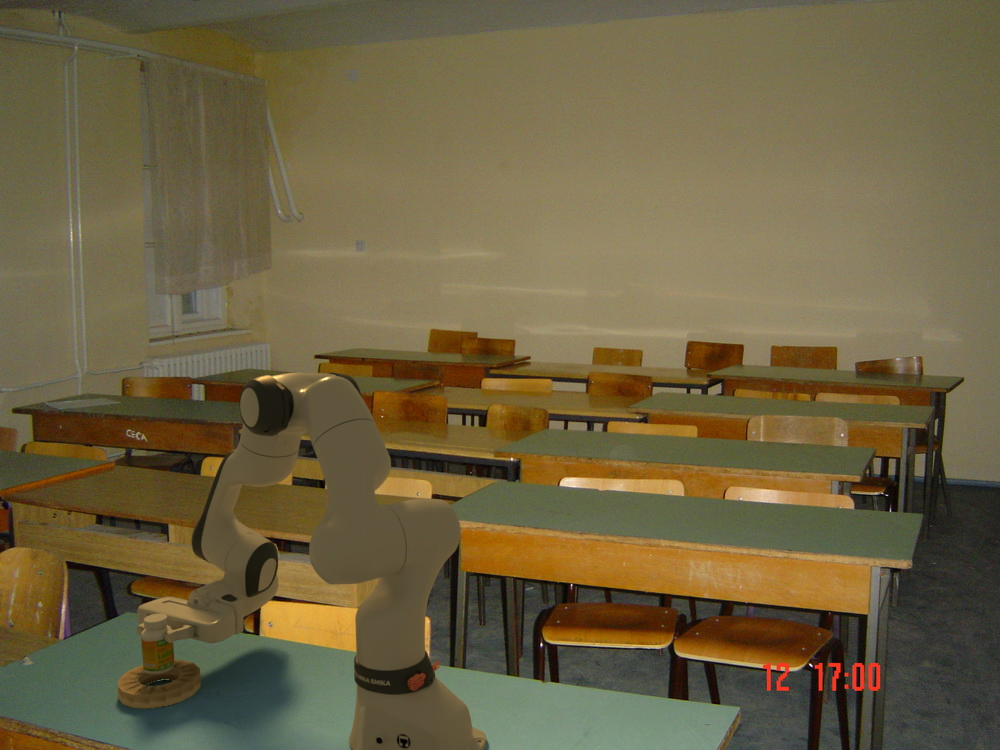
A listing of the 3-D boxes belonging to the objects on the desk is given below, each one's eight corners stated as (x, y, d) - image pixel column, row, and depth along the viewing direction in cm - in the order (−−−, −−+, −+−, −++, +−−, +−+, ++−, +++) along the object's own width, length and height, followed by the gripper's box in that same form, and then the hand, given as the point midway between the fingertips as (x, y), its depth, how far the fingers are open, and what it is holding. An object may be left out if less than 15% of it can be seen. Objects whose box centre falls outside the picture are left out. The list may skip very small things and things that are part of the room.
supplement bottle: (160, 677, 166) (156, 625, 164) (136, 672, 168) (132, 621, 167) (181, 664, 171) (177, 614, 169) (158, 659, 173) (154, 610, 171)
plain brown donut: (216, 681, 173) (216, 669, 172) (157, 715, 160) (156, 701, 160) (163, 666, 179) (162, 654, 179) (101, 697, 167) (100, 684, 166)
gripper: (170, 584, 184) (111, 608, 172) (248, 601, 175) (192, 628, 162) (172, 614, 185) (114, 640, 173) (249, 633, 175) (194, 662, 163)
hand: (152, 635), depth 168 cm, fingers closed on supplement bottle, 5 cm apart
